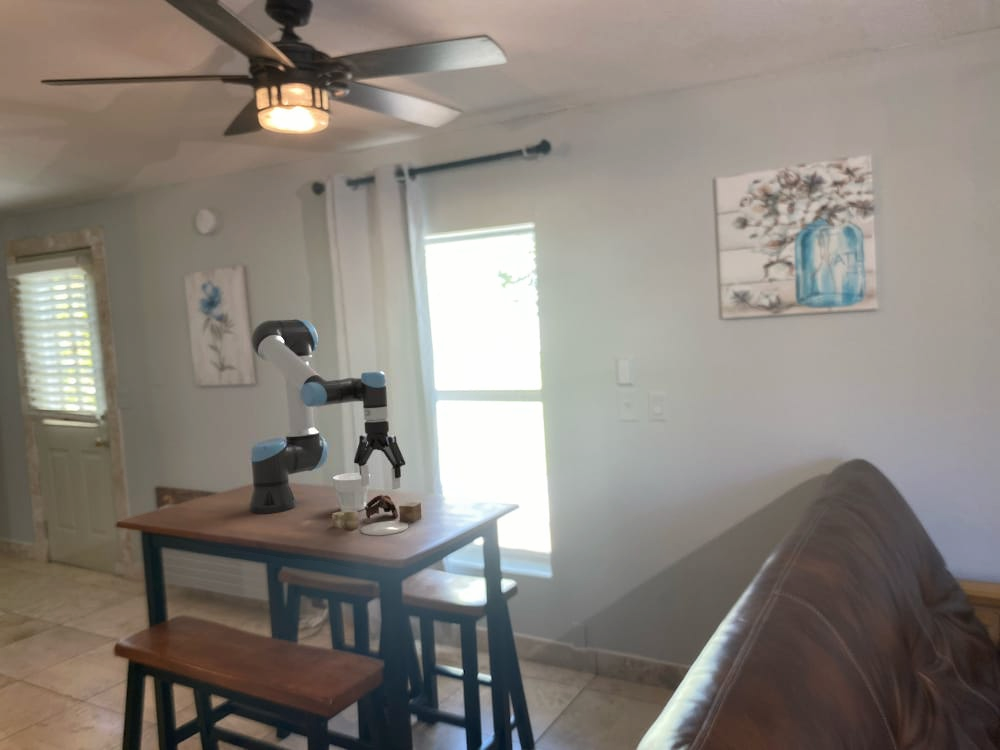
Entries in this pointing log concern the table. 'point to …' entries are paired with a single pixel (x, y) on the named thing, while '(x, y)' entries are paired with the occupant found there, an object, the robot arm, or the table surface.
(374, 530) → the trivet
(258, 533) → the table surface
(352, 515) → the oak dowel offcut
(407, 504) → the walnut block
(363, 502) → the cup
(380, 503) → the pottery mug
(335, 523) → the maple block
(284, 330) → the robot arm
